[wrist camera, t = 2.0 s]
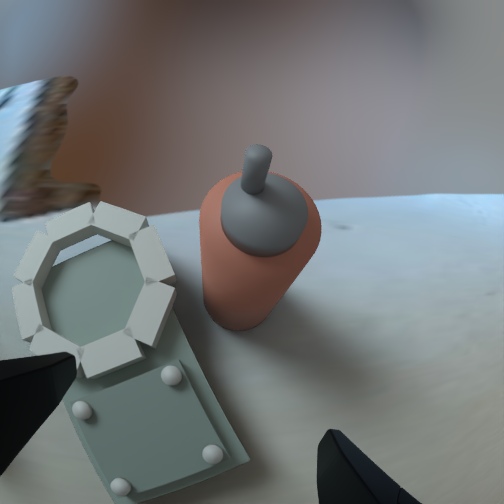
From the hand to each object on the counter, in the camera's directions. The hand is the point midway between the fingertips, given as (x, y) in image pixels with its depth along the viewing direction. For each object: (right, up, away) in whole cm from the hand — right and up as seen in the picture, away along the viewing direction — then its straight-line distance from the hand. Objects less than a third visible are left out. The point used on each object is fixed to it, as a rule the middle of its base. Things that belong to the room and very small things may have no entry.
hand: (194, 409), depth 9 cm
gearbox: (-8, -3, +12) cm, 15 cm away
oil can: (+1, +2, +15) cm, 16 cm away
